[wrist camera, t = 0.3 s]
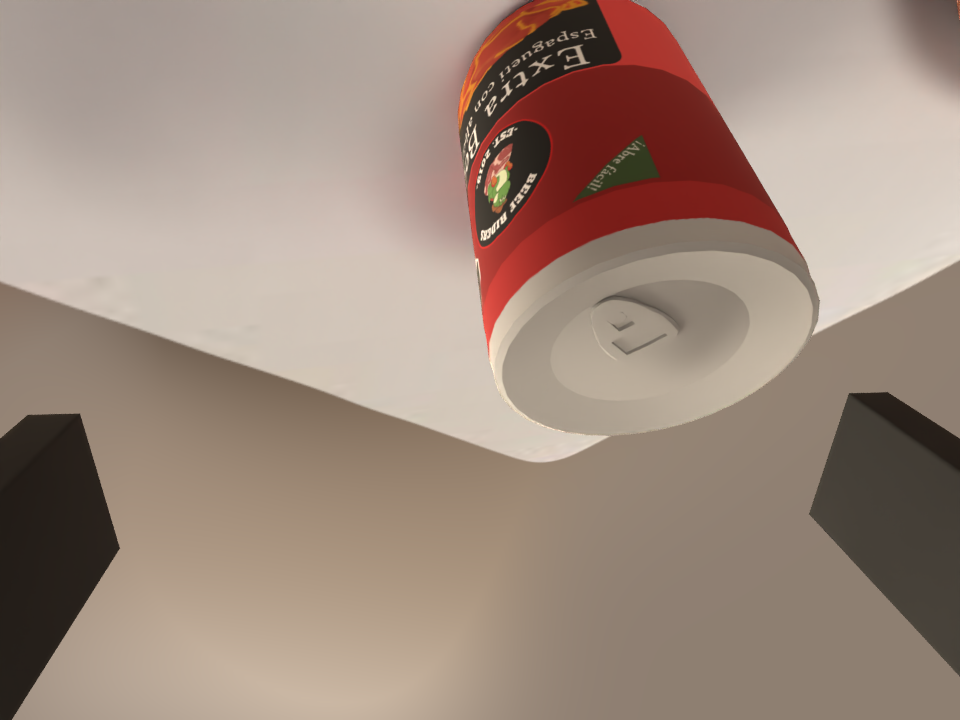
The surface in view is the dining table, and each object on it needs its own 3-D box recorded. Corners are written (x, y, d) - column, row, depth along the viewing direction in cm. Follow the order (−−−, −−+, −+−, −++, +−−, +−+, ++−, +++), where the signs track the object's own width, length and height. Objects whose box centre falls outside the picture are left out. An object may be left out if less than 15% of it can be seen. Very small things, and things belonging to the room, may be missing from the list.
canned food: (552, -83, 16) (668, 176, 10) (729, 70, 20) (891, 322, 14) (411, 134, 21) (427, 400, 14) (577, 221, 25) (644, 458, 19)
